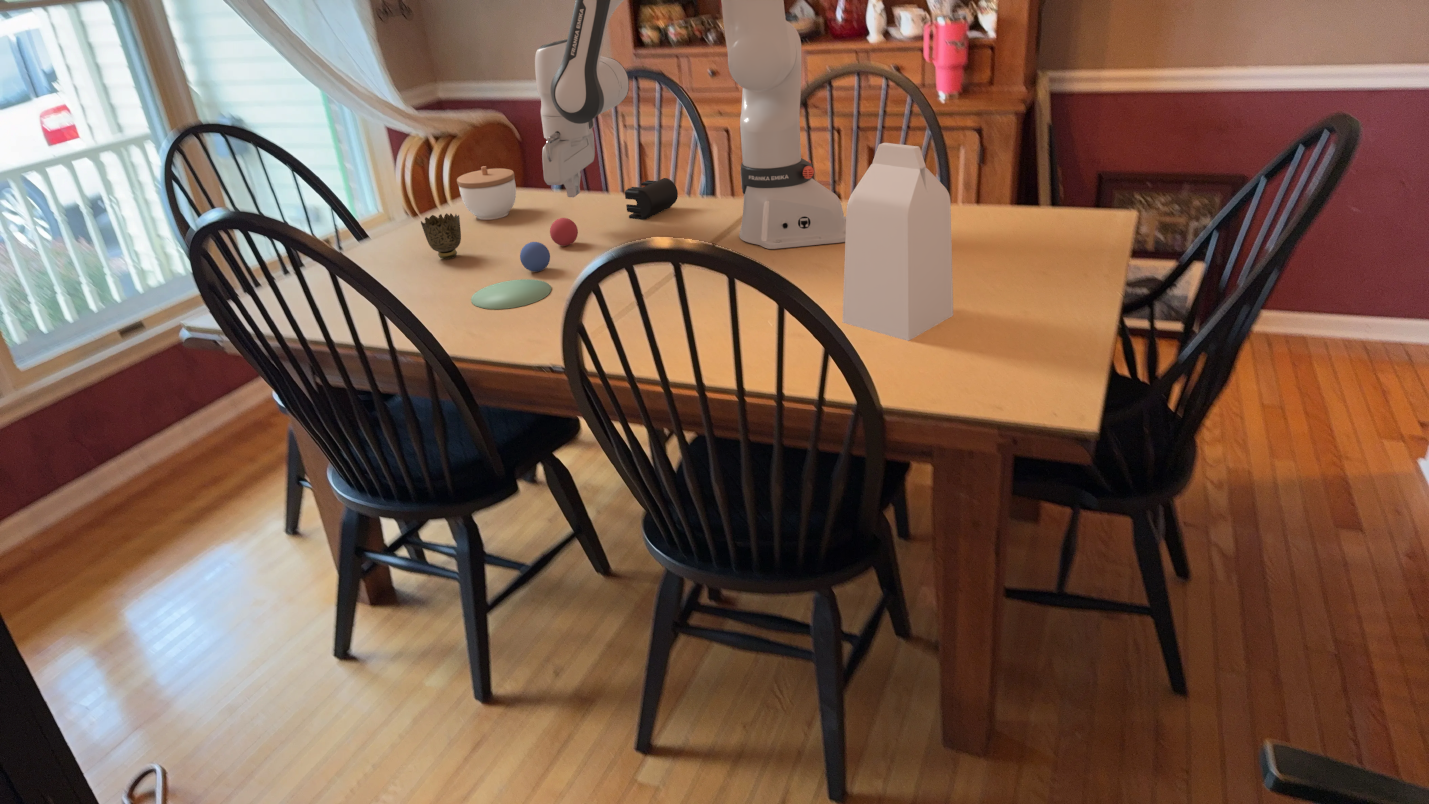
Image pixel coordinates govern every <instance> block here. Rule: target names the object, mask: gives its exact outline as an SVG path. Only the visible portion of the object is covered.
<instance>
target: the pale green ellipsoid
mask: <svg viewBox="0 0 1429 804" xmlns="http://www.w3.org/2000/svg"><path fill="white" fill-rule="evenodd" d="M551 292H552V286H551V285H550V284H549V283H548V282H547V281H544V280H539V279H529V278H525V279H523V278H522V279H512V280H507V281H501V282H497V283H494V284H493V283H492V284H489V285H487V286H485V287H483V288H481V289H479V290H477V291H475V293H473V294H472V296H471V299H470V300H471V304H472V305H473V306H475V307H477V308H480V309H485V310H486V309H487V310H506V309H507V310H508V309H514V308H519V307H524V306H528V305H531V304H534V303H536V302H539V301H541V300H543V299H544V298H546V297H547V296H549V295H550V294H551Z"/></svg>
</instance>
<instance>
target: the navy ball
mask: <svg viewBox="0 0 1429 804" xmlns="http://www.w3.org/2000/svg"><path fill="white" fill-rule="evenodd" d="M519 253H520V254H519V259H520V262H521V265H523V267H524V268H525V269H526V270H527V271H530V272H534V273H536V272H537V273H538V272H541V271H543V270H545V269H546V268H547V267H548V266H549V264H550V262H551V253H550V251H549V249H548V247H547V246H546V245H544V243H542V242H539V241H530V242H528V243H526V244H525V245H524V246H523V247H522V249H520V252H519Z"/></svg>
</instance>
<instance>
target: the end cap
mask: <svg viewBox="0 0 1429 804" xmlns="http://www.w3.org/2000/svg"><path fill="white" fill-rule="evenodd" d="M640 185H641V187H639V186H631V187H630V188H629V187H628V188H627V189H626V190H624V197H625V200H633V201H635V202H636V204H626V212H627V213H631V214H629V215H628V218H629V219H631V220H641V221H644V220H647V219H650V218H651V217H654V216H656V215H658V214H660V213H662V212H664V211H666V210H668V209H670V208H672V206H673V205H674V204H675V203H676V202H677V201H678V200H677V199H678V197H679V191H678V188H677V185H676V184H675V183H674V182H673V181H672V180H671V179H670V178H668V177H663V178H661V179H659V180H649V179H647V180H645V181H643V182H641V183H640Z"/></svg>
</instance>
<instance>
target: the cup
mask: <svg viewBox="0 0 1429 804" xmlns="http://www.w3.org/2000/svg"><path fill="white" fill-rule="evenodd" d="M460 220H461V219H460V214H458V215H457V213H455V214H454V215H453V214H452V213H445V214H444V216H443V215H442V213H440V214H439V215H438V216H436V215H434V214H431V215H430V216H429V217H428V216H426V217H424V222H423V221H422V220H420V224H421V227H422V229H423V234H424V236H425V238H426V239H425V240H427V243H428V245H429V246H430V248H431V249H432V250H433V251H435V252H438V253H437V255H438V258H439V259H441V260H450V259H453V258H456V256H457V253H458V250H457V248H458V247H459V246H460V244H461V241H462V234H461V233H462V232H461V231H462V230H461V221H460Z"/></svg>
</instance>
